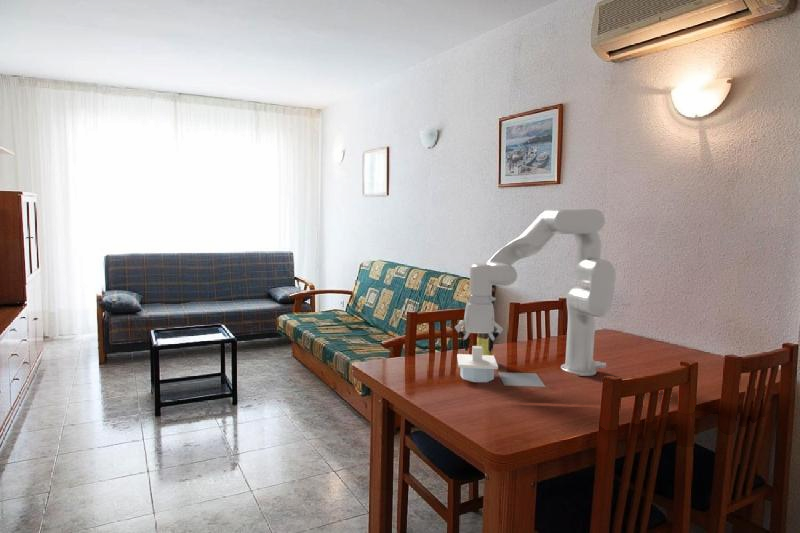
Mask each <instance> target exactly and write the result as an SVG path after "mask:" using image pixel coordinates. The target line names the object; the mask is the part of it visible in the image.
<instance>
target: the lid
mask: <svg viewBox="0 0 800 533" xmlns="http://www.w3.org/2000/svg"><path fill="white" fill-rule="evenodd" d="M471 349H472V350H471V354H467V353H466V354H465V353H464V354H463V353H457V354H456V358H457V359H456V360H457V366H458V368H459V369H461V368H479V369H494V370H498V369H499V365H498V363H497V360H496V358H495V355H493V356H492V355H482V346H477V345H472V348H471Z"/></svg>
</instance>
